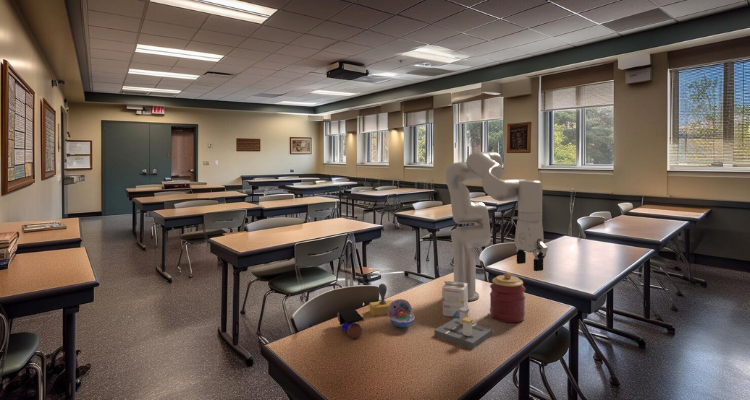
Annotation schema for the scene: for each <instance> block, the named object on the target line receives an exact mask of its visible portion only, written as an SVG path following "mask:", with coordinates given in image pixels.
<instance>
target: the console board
mask: <svg viewBox="0 0 750 400" xmlns="http://www.w3.org/2000/svg"><path fill="white" fill-rule="evenodd" d="M493 335H494V329H493V328H491V327H488V326H484V325H482V324H477V323H475V322H472V335H470V336H466V335H463V324H460V318H459V317H453V318H452V319H451V320H449V321H448V322H445V323H444V324H442V325H440V326H439V327H437V328H436V329H434V336H435V337H437V338H440V339H444V340H445V341H449V342H453V343H454V344H458V345H460V346H463V347H466V348H469V349H472V350H474V349H475V348H477V347H478V346H479V345H481V344H482V343H483V342H484V341H486V340H488V339H489V338H490V337H492V336H493Z"/></svg>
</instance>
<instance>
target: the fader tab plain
mask: <svg viewBox="0 0 750 400" xmlns="http://www.w3.org/2000/svg"><path fill="white" fill-rule="evenodd" d="M469 311H470V309H469V308H468V309H467V308H464V307H462V308H460V309H459V312H460V318H459V319H460V324H463V322H462V319H464V318H465V317H468V318H469Z"/></svg>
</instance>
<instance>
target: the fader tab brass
mask: <svg viewBox="0 0 750 400" xmlns="http://www.w3.org/2000/svg"><path fill="white" fill-rule="evenodd" d="M462 322H463V335H466V336H470V335H472V323H474V319H473V318H471V317H469V316H468V317H465V318H464V319H462Z"/></svg>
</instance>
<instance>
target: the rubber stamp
mask: <svg viewBox="0 0 750 400" xmlns="http://www.w3.org/2000/svg"><path fill="white" fill-rule="evenodd" d="M387 290H388V289H387V285H386V284H385V283H380V284H379V285H378V295H379V297H380V299H381V300H380V301H373V302H372V301H371V302H369V313H370V314H371V316H372V317H376V316H383V315H384V316H386V315H388V307H389V305H390V304H391V303H392V302H393V301H394V300H392V299H390V300H385V297H386V293H387Z"/></svg>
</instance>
